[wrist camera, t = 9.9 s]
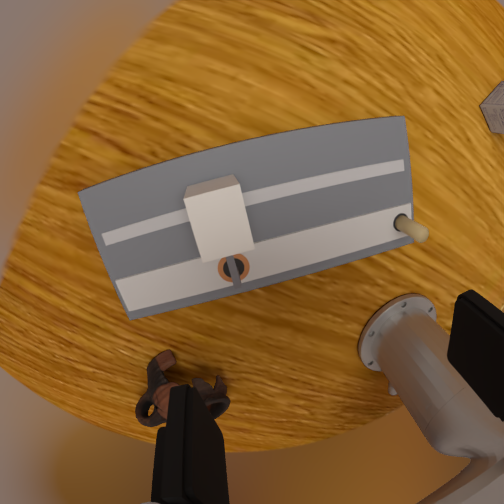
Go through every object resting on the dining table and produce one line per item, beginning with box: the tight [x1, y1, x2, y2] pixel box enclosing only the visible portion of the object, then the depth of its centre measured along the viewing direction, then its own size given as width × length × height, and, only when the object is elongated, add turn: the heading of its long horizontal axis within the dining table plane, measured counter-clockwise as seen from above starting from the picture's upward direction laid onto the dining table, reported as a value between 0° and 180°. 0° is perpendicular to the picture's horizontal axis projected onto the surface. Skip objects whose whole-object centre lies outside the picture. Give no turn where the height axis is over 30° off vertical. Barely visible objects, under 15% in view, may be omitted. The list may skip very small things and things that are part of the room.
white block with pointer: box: [183, 174, 255, 289], centre depth 25 cm, size 9×4×5 cm, turn 13°
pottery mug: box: [135, 350, 230, 427], centre depth 34 cm, size 12×10×8 cm
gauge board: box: [78, 116, 429, 320], centre depth 27 cm, size 14×32×6 cm, turn 103°
